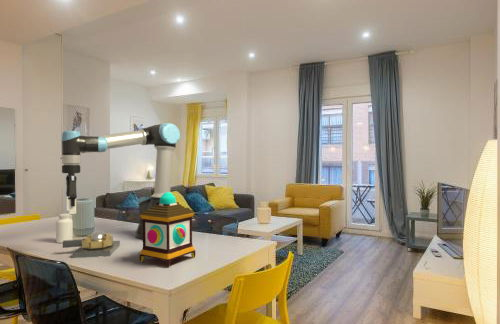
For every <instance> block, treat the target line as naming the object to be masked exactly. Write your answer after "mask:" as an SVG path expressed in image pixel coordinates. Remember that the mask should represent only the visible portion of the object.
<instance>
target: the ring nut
mask: <svg viewBox="0 0 500 324" xmlns="http://www.w3.org/2000/svg"><path fill="white" fill-rule="evenodd" d="M91 234H92V233H91ZM91 234H87V235H86V237H85V238H81V239H73V240H64V241H63V243H62V248H63V249H64V248H65V249H67V248H79V247H81V246H82V248H88V249H90V248H91V249H93V248H102V247H103V248H104V247H107V246H111V245H113V241H114V237H113V236H112V235H111V232H110V233H109V232H106V233H105V237H102V239H103V240H99V241H91Z"/></svg>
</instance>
